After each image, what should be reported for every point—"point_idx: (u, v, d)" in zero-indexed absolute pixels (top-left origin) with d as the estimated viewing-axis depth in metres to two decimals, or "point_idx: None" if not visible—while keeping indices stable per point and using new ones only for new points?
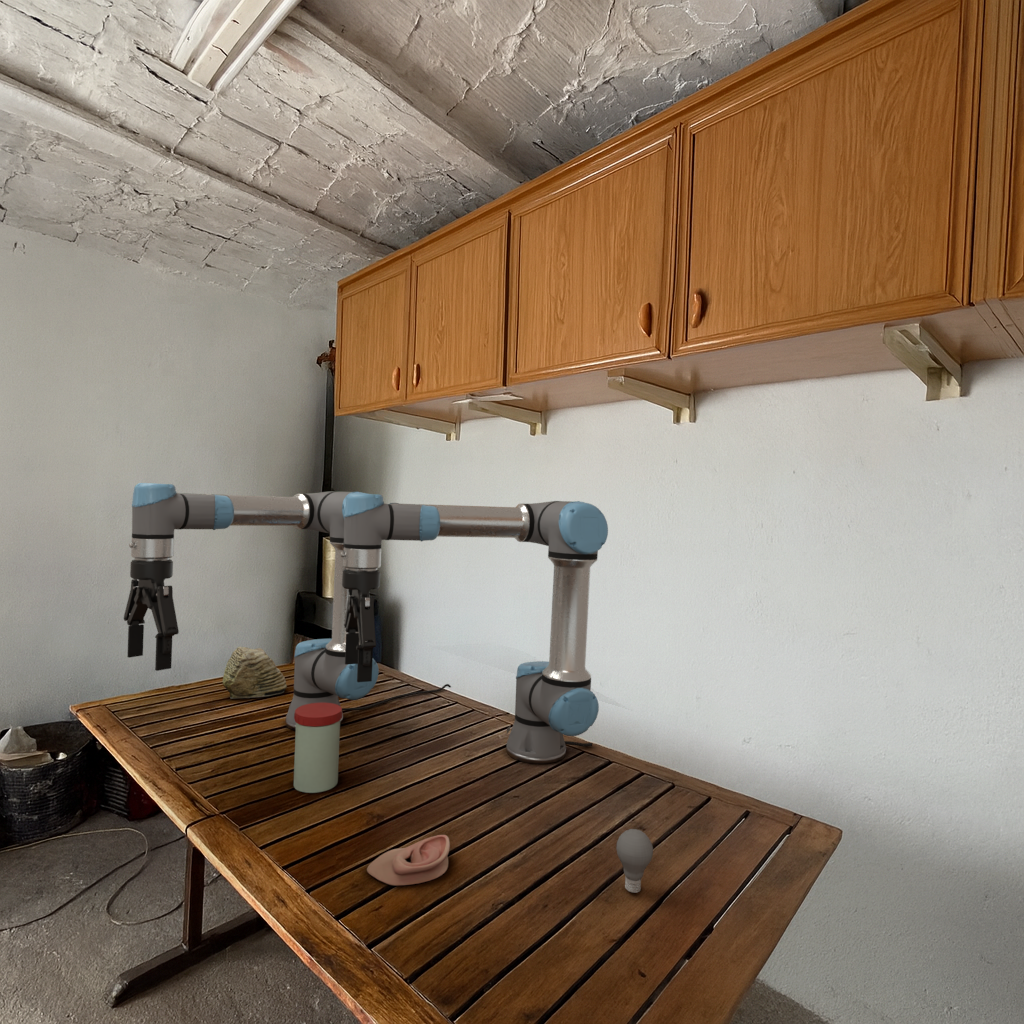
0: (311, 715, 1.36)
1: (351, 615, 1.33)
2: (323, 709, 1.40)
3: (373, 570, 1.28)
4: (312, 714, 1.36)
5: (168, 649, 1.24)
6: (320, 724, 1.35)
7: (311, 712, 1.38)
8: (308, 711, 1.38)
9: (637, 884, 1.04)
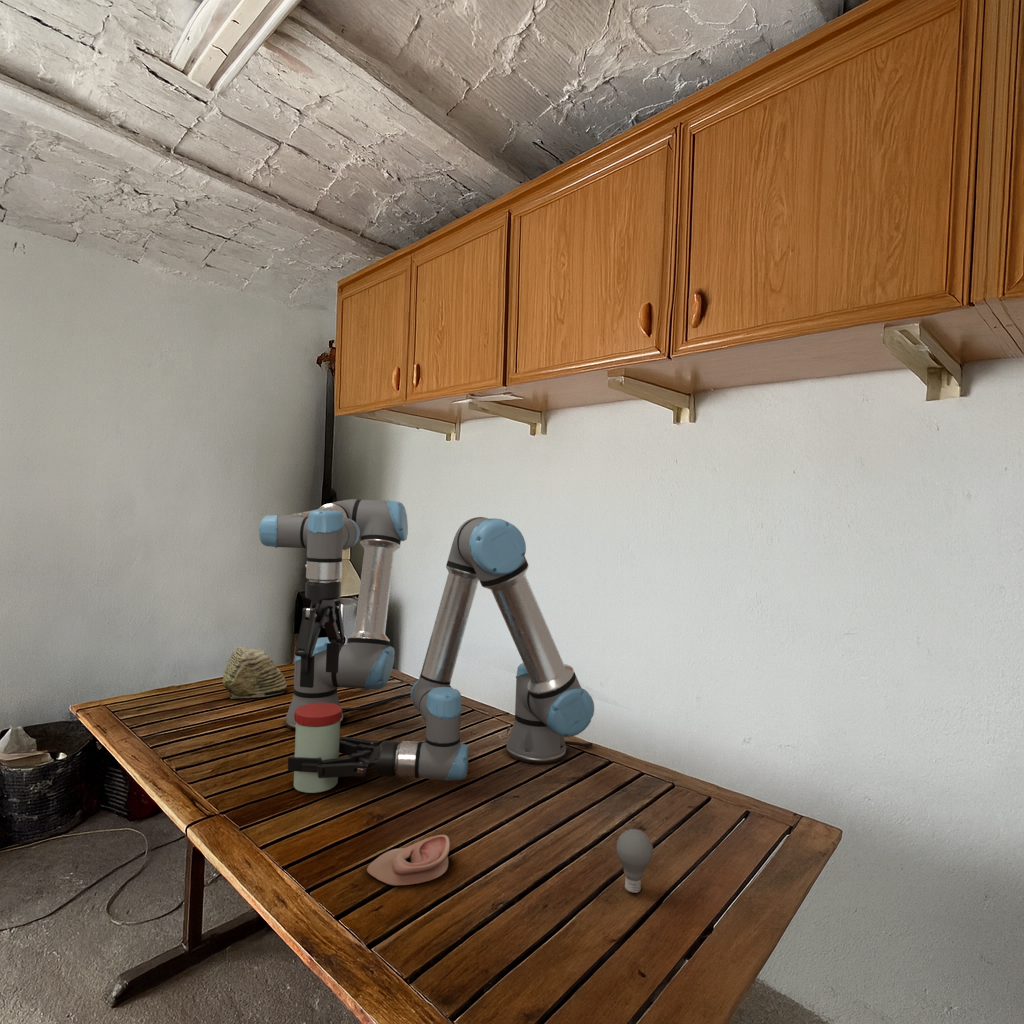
0: (311, 715, 1.36)
1: None
2: (323, 709, 1.40)
3: None
4: (312, 714, 1.36)
5: (305, 669, 1.32)
6: (320, 724, 1.35)
7: (311, 712, 1.38)
8: (308, 711, 1.38)
9: (637, 884, 1.04)
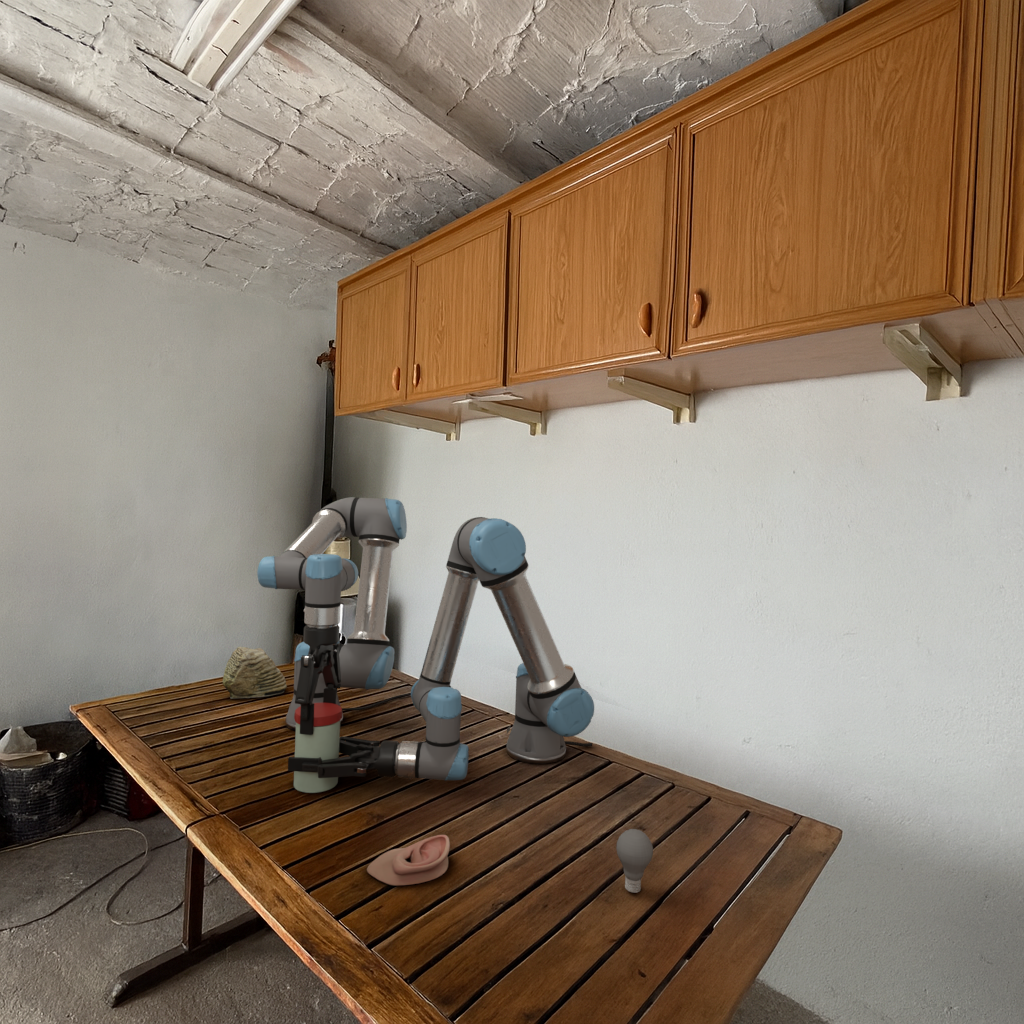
0: None
1: None
2: (323, 709, 1.40)
3: None
4: None
5: (304, 716, 1.33)
6: (320, 724, 1.35)
7: None
8: None
9: (637, 884, 1.04)
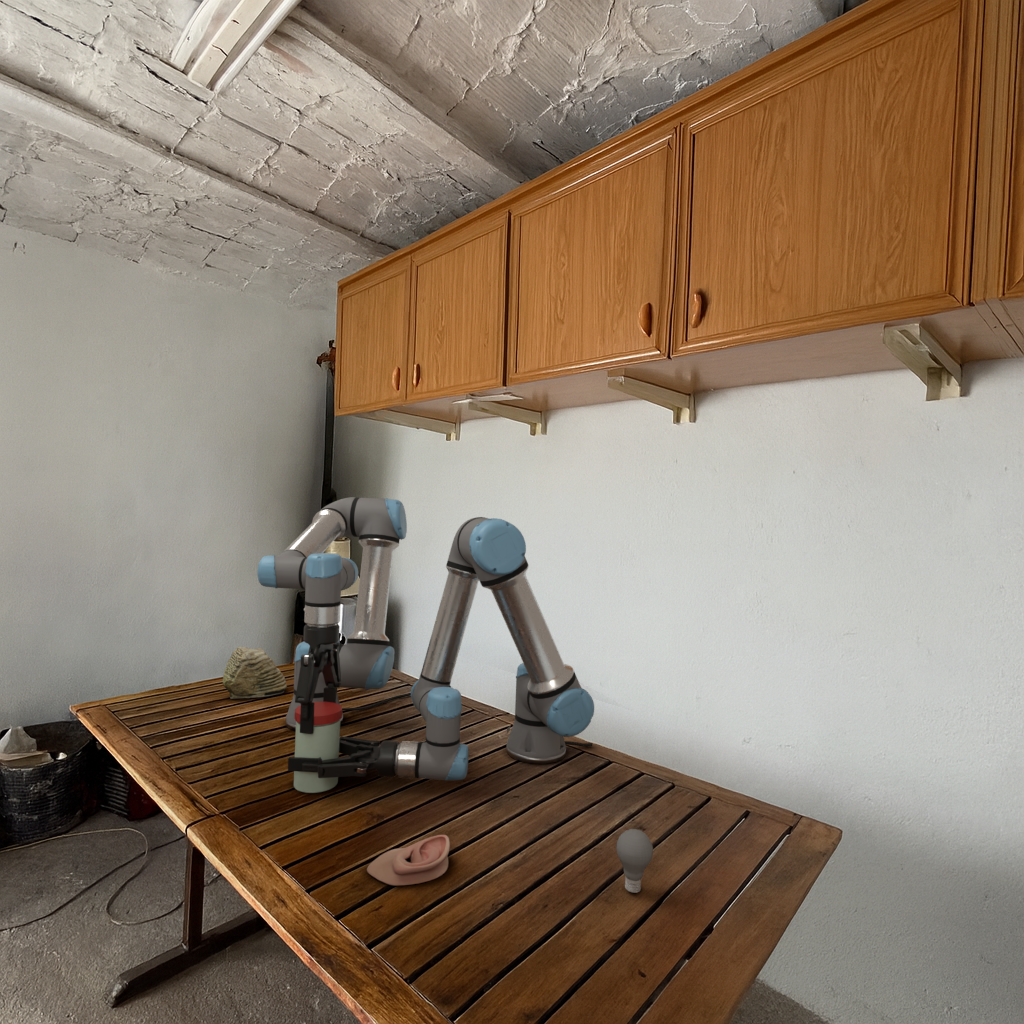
0: (333, 711, 1.38)
1: None
2: (320, 707, 1.41)
3: None
4: (331, 711, 1.38)
5: (304, 715, 1.33)
6: (341, 715, 1.40)
7: (322, 711, 1.38)
8: (319, 712, 1.38)
9: (637, 884, 1.04)
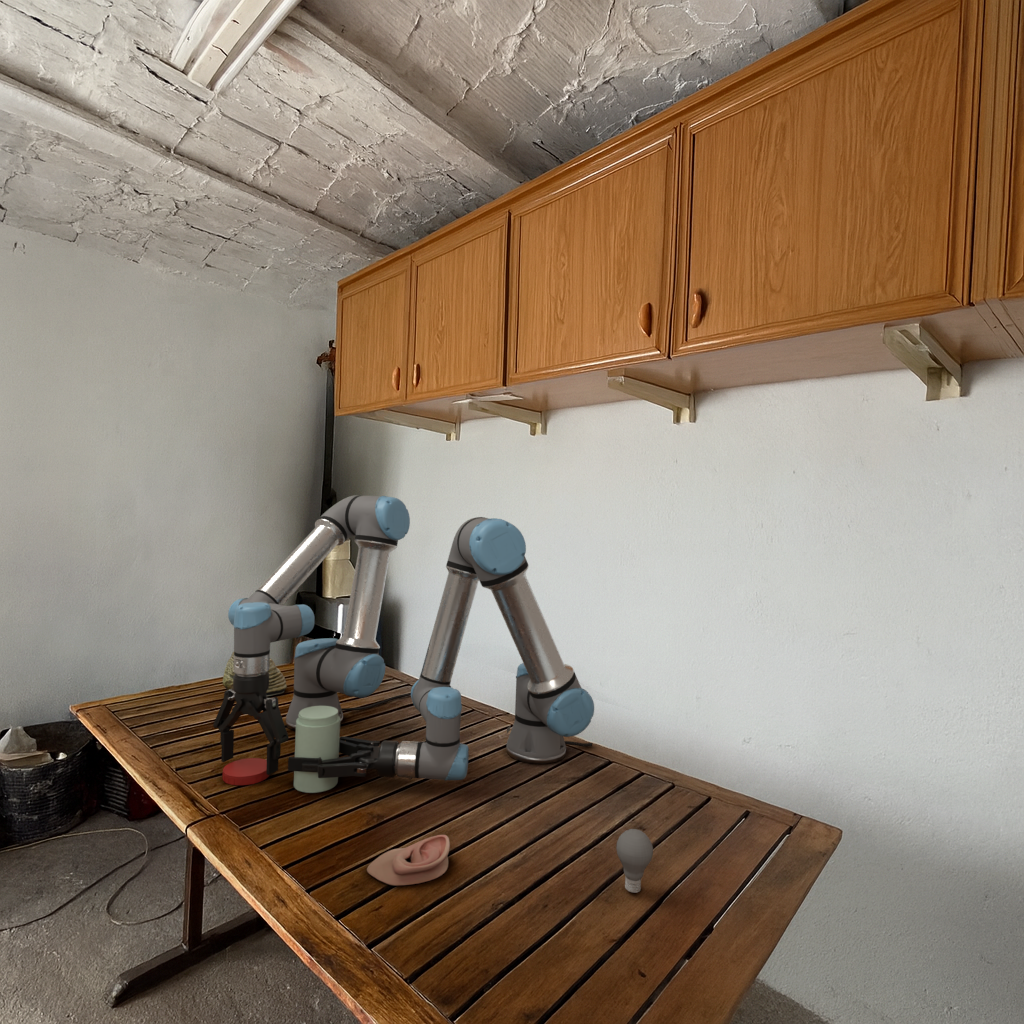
0: (262, 761, 1.45)
1: None
2: (243, 766, 1.42)
3: None
4: (261, 762, 1.45)
5: (278, 754, 1.39)
6: None
7: (256, 765, 1.43)
8: (257, 766, 1.42)
9: (637, 884, 1.04)
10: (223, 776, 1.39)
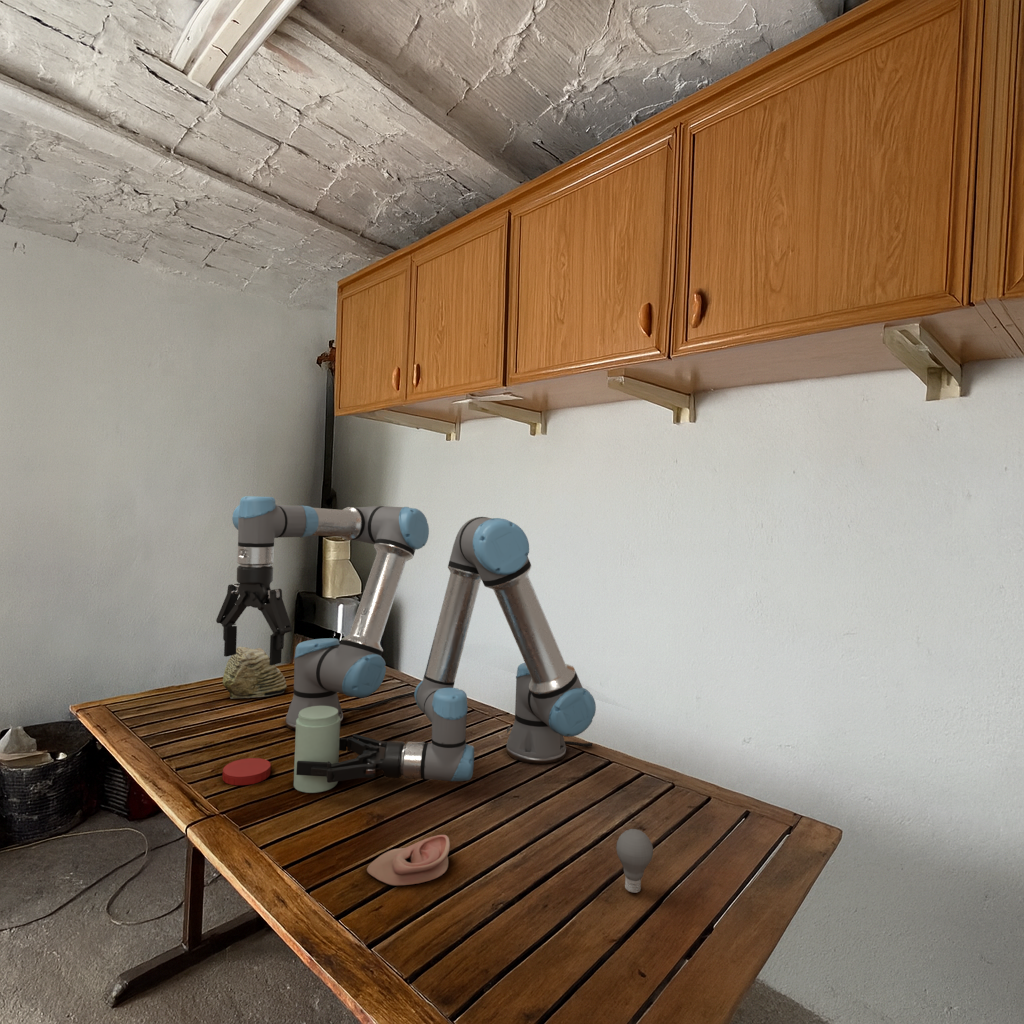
0: (262, 761, 1.45)
1: None
2: (243, 766, 1.42)
3: None
4: (261, 762, 1.45)
5: (281, 645, 1.39)
6: None
7: (256, 765, 1.43)
8: (257, 766, 1.42)
9: (637, 884, 1.04)
10: (223, 776, 1.39)
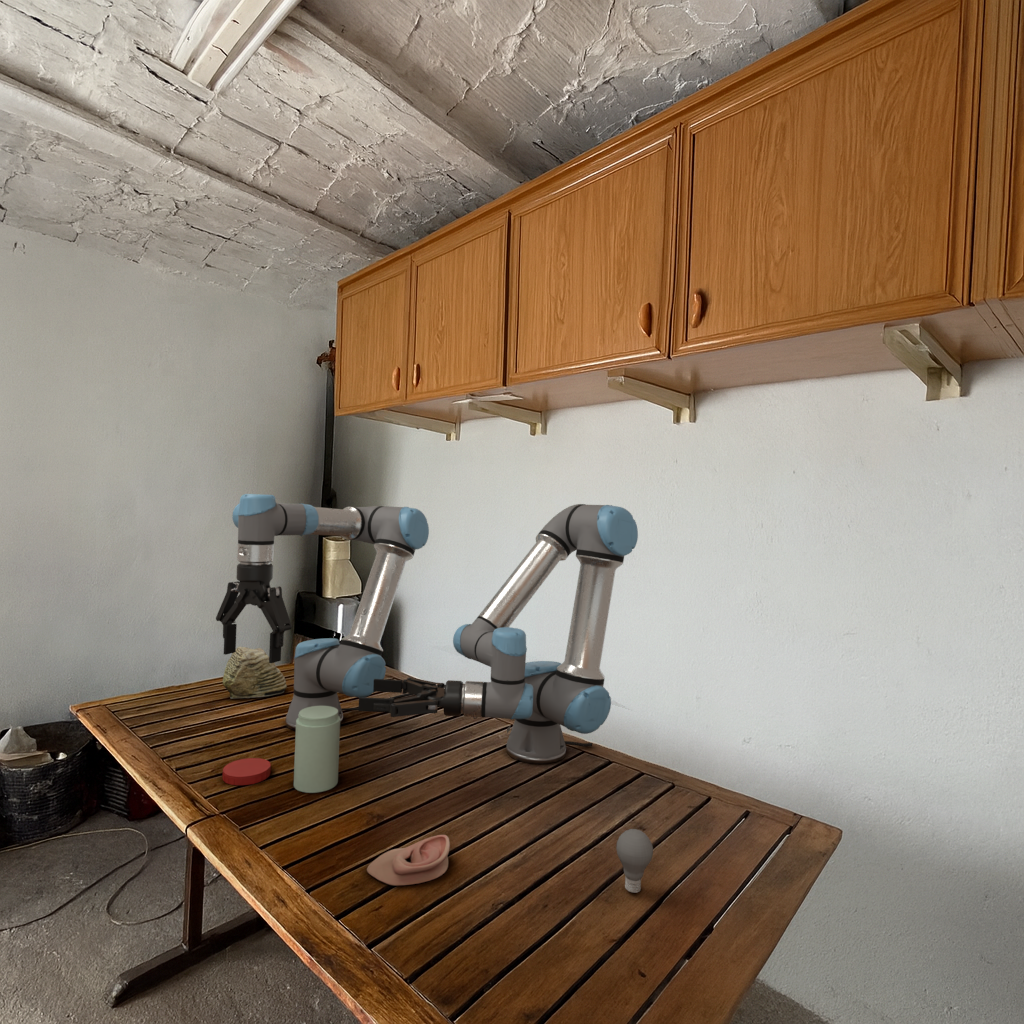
0: (262, 761, 1.45)
1: None
2: (243, 766, 1.42)
3: None
4: (261, 762, 1.45)
5: (281, 643, 1.39)
6: None
7: (256, 765, 1.43)
8: (257, 766, 1.42)
9: (637, 884, 1.04)
10: (223, 776, 1.39)
